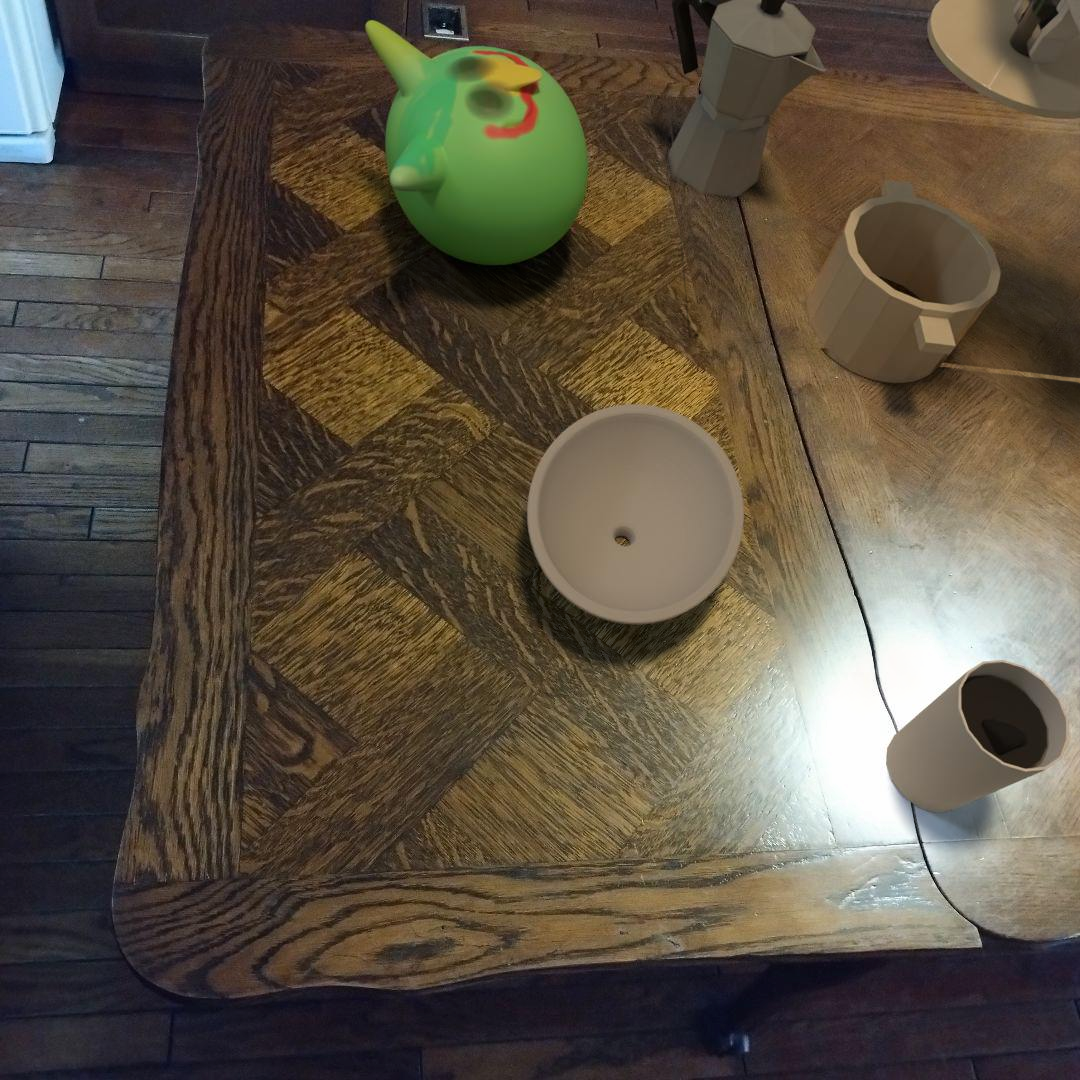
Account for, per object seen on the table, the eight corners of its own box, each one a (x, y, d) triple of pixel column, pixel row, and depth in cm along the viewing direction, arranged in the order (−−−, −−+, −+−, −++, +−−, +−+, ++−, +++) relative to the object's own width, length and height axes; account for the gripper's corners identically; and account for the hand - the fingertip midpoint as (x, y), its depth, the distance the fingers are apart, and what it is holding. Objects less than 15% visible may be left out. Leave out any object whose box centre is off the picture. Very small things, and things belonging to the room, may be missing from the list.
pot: (925, 259, 90) (973, 184, 83) (966, 416, 81) (1025, 347, 73) (792, 242, 88) (830, 164, 81) (819, 400, 79) (864, 328, 72)
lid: (1080, 21, 73) (1121, -43, 69) (1133, 140, 66) (1182, 77, 62) (907, -10, 71) (939, -77, 67) (942, 110, 64) (981, 43, 60)
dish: (566, 417, 74) (578, 374, 70) (745, 485, 74) (768, 446, 69) (481, 608, 65) (489, 573, 61) (684, 689, 64) (707, 658, 60)
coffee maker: (791, 187, 92) (875, 0, 77) (738, 229, 88) (816, 41, 73) (668, 104, 96) (726, -90, 81) (612, 141, 92) (661, -56, 76)
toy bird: (594, 296, 81) (635, 146, 69) (390, 312, 77) (394, 156, 65) (542, 150, 90) (570, -8, 77) (355, 157, 85) (353, -8, 73)
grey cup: (996, 801, 64) (1093, 752, 55) (911, 832, 62) (998, 786, 53) (944, 708, 67) (1028, 647, 58) (861, 735, 65) (936, 676, 56)
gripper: (1291, -82, 51) (1115, 146, 62) (1168, -259, 61) (1038, -35, 73) (1179, -103, 50) (1022, 131, 62) (1074, -279, 60) (958, -50, 72)
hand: (1030, 39), depth 67 cm, fingers closed on lid, 2 cm apart
